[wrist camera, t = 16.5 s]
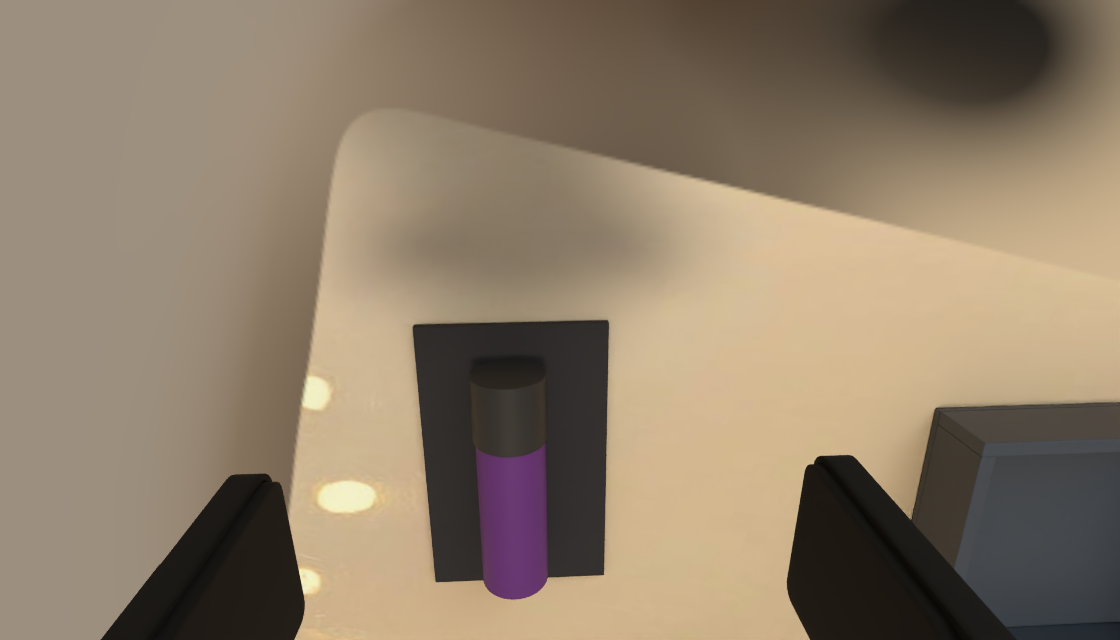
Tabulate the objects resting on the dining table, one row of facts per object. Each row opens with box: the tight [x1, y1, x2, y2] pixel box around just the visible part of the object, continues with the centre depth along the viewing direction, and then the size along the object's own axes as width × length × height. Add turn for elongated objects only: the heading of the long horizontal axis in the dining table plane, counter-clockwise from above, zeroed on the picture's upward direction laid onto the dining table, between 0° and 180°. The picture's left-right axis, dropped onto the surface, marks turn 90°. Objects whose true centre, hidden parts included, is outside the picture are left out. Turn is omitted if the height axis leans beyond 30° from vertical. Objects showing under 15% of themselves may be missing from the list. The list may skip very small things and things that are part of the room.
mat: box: [413, 320, 609, 582], centre depth 34 cm, size 16×10×1 cm, turn 0°
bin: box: [912, 403, 1120, 640], centre depth 35 cm, size 17×17×4 cm
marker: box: [469, 359, 548, 599], centre depth 32 cm, size 4×12×4 cm, turn 0°
